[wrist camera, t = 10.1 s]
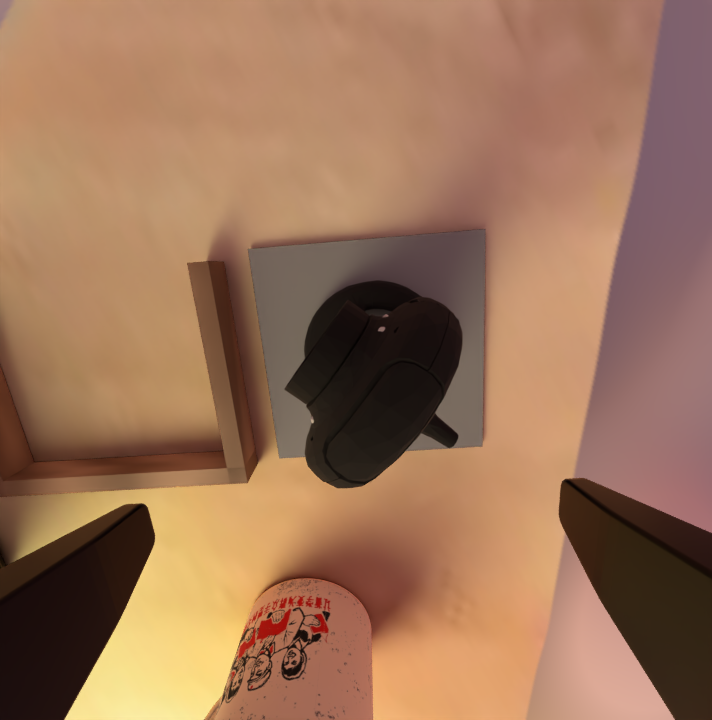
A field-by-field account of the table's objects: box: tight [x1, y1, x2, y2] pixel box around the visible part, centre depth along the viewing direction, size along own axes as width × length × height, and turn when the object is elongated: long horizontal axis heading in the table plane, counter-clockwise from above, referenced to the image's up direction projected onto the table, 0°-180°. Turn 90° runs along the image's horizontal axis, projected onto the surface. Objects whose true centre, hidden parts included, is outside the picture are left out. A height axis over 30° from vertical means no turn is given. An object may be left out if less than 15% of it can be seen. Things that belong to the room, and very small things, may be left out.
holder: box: [0, 261, 258, 497], centre depth 20 cm, size 15×12×2 cm
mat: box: [248, 229, 485, 458], centre depth 20 cm, size 12×12×1 cm
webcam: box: [284, 280, 463, 488], centre depth 15 cm, size 8×8×10 cm
